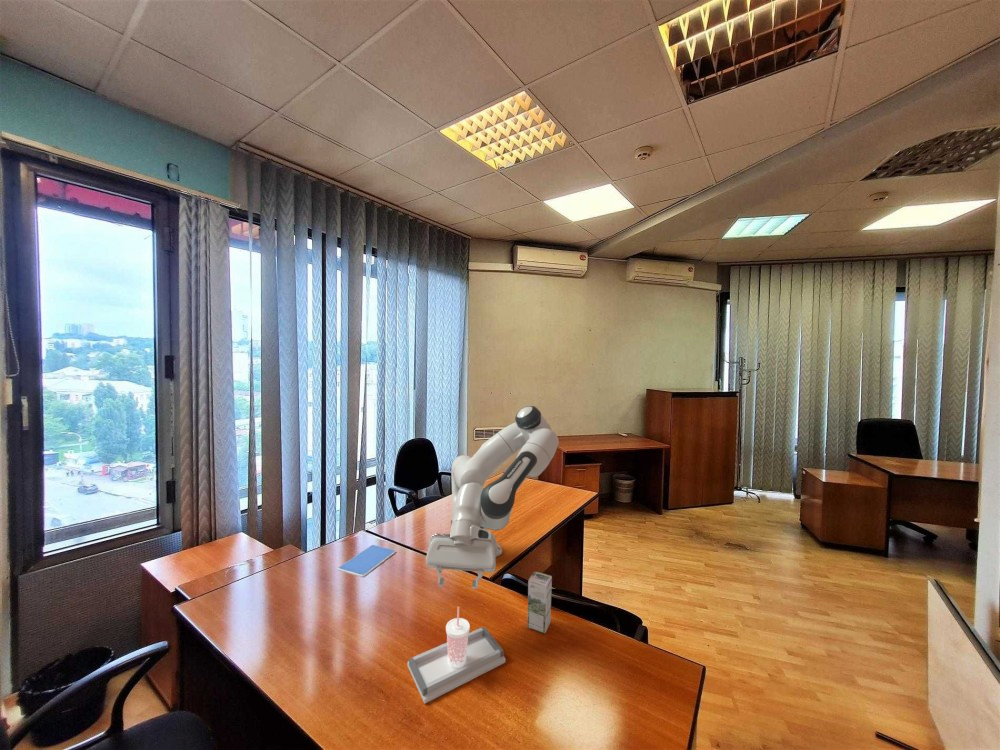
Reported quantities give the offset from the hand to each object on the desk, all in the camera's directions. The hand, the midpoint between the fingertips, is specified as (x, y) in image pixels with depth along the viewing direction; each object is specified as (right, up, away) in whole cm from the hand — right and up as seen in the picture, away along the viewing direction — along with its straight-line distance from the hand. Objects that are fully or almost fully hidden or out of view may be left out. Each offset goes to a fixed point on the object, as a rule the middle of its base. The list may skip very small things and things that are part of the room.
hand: (457, 587), depth 98 cm
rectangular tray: (+1, -16, -7) cm, 17 cm away
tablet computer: (-40, -14, +41) cm, 58 cm away
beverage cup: (+1, -15, -7) cm, 16 cm away
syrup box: (+23, -16, +8) cm, 30 cm away
